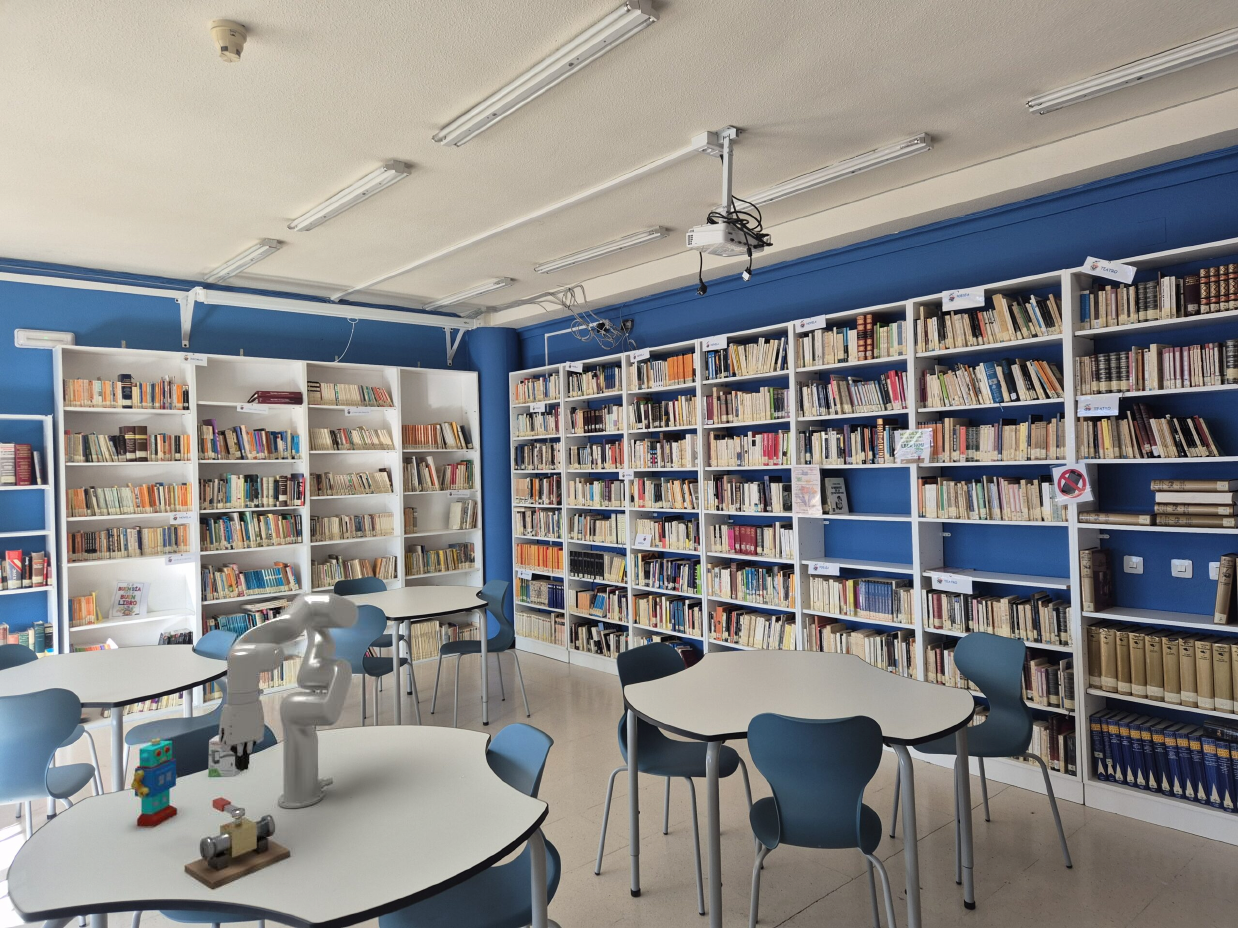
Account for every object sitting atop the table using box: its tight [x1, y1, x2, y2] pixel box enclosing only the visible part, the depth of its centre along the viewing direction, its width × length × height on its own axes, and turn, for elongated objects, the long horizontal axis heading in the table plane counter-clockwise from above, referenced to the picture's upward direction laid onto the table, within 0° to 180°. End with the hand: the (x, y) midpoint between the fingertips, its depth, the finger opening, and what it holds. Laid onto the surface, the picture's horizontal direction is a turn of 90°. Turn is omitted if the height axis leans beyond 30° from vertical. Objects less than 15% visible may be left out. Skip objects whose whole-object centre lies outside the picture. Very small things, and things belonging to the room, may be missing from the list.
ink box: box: [207, 734, 241, 778], centre depth 245 cm, size 9×5×12 cm, turn 93°
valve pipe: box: [199, 814, 276, 871], centre depth 186 cm, size 16×6×10 cm, turn 143°
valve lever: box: [212, 796, 246, 819], centre depth 189 cm, size 12×3×2 cm, turn 53°
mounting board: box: [184, 838, 291, 890], centre depth 186 cm, size 19×14×2 cm
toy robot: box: [130, 729, 178, 828], centre depth 212 cm, size 12×6×25 cm, turn 168°
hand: (242, 768), depth 196 cm, fingers closed
